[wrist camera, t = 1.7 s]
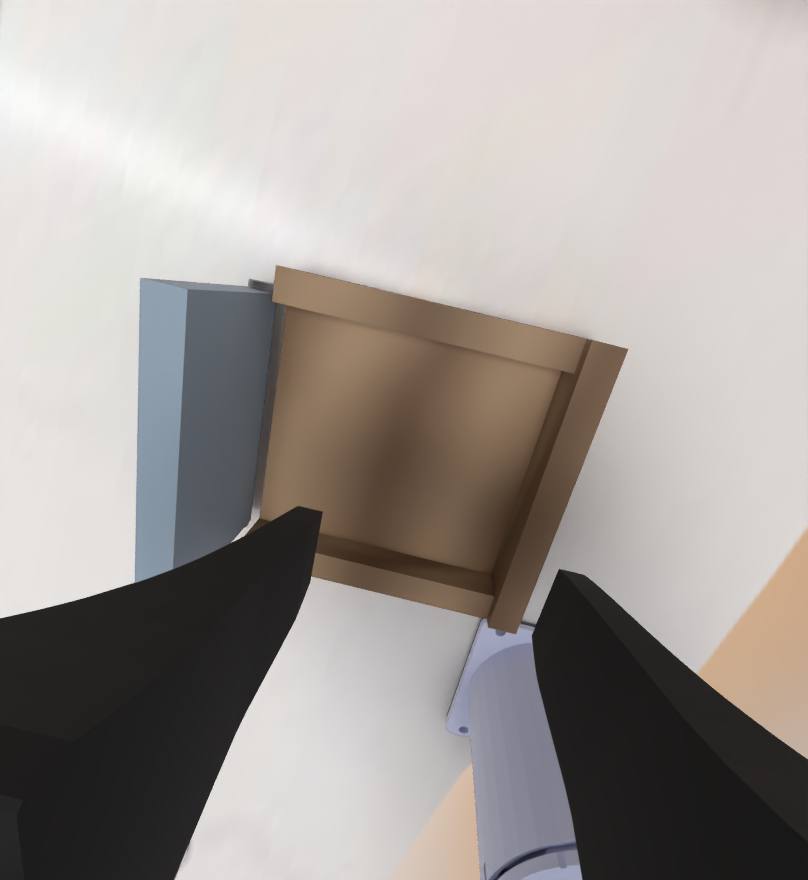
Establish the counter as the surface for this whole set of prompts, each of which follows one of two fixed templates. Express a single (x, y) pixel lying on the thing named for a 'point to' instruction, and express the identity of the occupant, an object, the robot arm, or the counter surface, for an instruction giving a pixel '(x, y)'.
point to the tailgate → (198, 416)
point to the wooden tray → (429, 441)
